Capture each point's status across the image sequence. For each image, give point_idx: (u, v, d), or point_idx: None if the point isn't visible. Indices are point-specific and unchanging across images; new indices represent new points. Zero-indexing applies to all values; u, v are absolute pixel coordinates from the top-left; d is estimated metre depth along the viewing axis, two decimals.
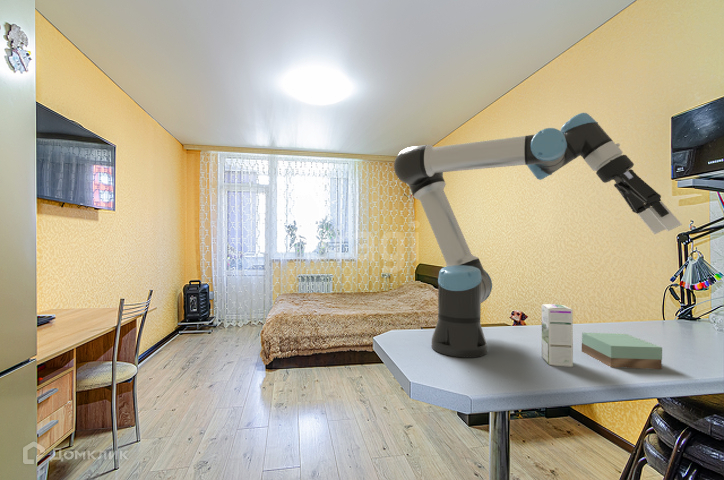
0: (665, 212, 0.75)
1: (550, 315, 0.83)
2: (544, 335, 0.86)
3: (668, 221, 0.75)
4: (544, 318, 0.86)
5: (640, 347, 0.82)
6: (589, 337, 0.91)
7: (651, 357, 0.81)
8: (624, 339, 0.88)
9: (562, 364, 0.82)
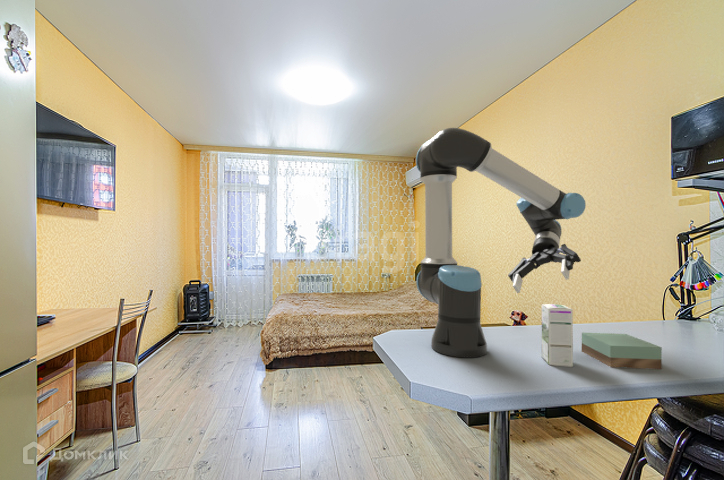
0: (571, 266, 0.90)
1: (550, 315, 0.83)
2: (544, 335, 0.86)
3: (566, 270, 0.89)
4: (544, 318, 0.86)
5: (639, 347, 0.82)
6: (588, 337, 0.91)
7: (650, 357, 0.81)
8: (623, 339, 0.88)
9: (562, 364, 0.82)
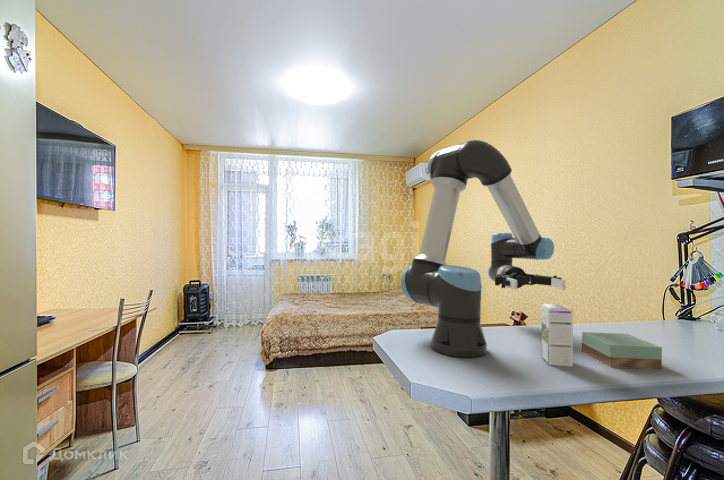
0: None
1: (550, 315, 0.83)
2: (544, 335, 0.86)
3: None
4: (544, 318, 0.86)
5: (639, 347, 0.82)
6: (588, 336, 0.91)
7: (650, 357, 0.81)
8: (624, 339, 0.88)
9: (562, 364, 0.82)
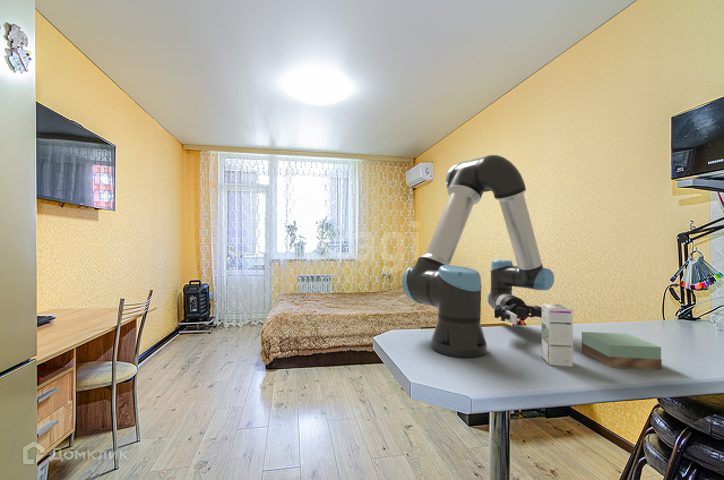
0: None
1: (550, 315, 0.83)
2: (544, 335, 0.86)
3: None
4: (544, 318, 0.86)
5: (639, 346, 0.82)
6: (588, 336, 0.91)
7: (650, 357, 0.81)
8: (623, 339, 0.88)
9: (562, 364, 0.82)
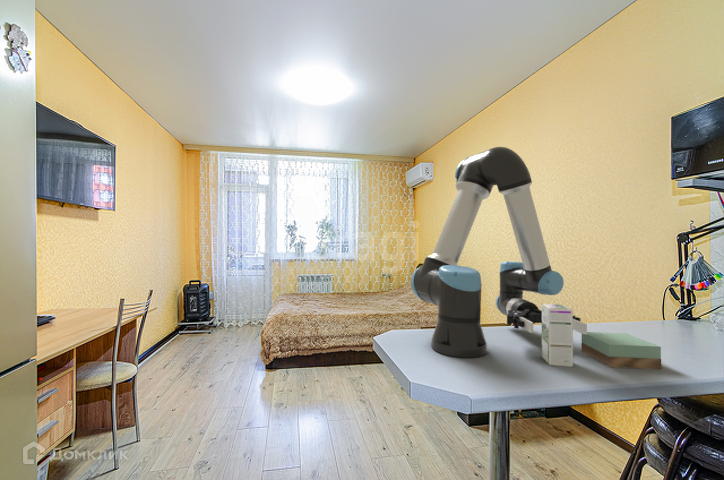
0: None
1: (550, 315, 0.83)
2: (544, 335, 0.86)
3: None
4: (544, 318, 0.86)
5: (638, 346, 0.82)
6: (588, 336, 0.91)
7: (650, 356, 0.82)
8: (623, 338, 0.88)
9: (562, 364, 0.82)
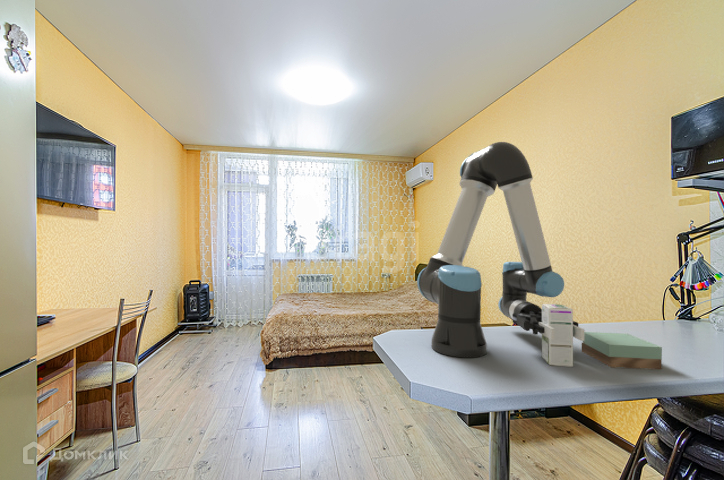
0: None
1: (550, 315, 0.83)
2: None
3: None
4: (544, 318, 0.86)
5: (639, 346, 0.82)
6: (589, 336, 0.91)
7: (650, 357, 0.81)
8: (624, 339, 0.88)
9: (562, 364, 0.82)
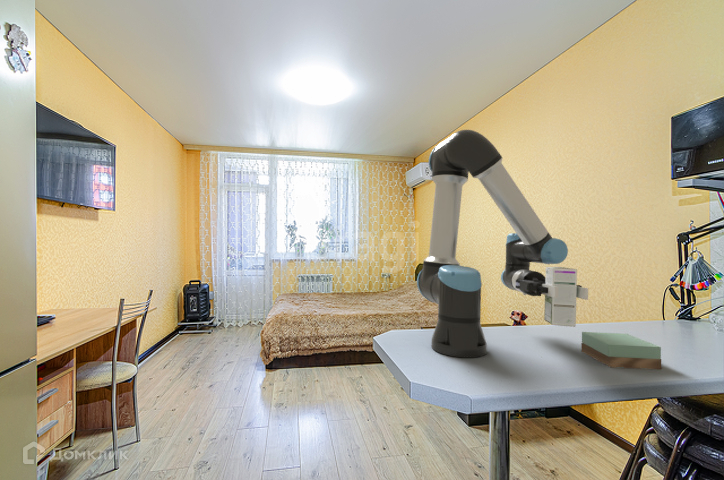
0: None
1: (554, 275, 0.83)
2: (547, 296, 0.86)
3: None
4: (548, 279, 0.86)
5: (638, 346, 0.82)
6: (588, 336, 0.91)
7: (649, 356, 0.82)
8: (623, 338, 0.88)
9: (565, 324, 0.82)
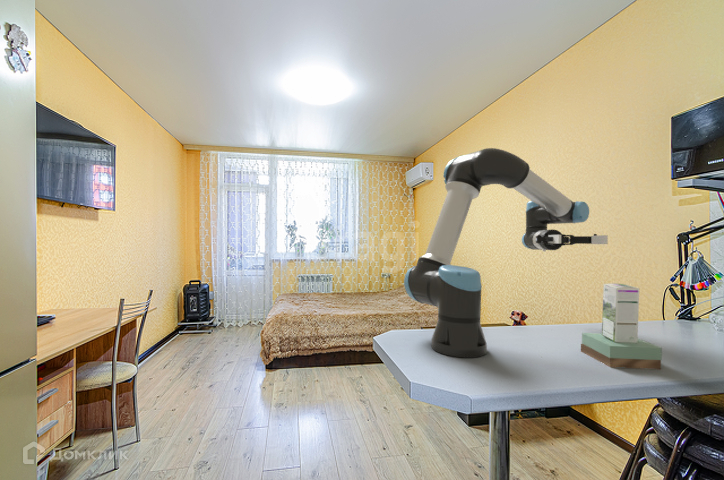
0: None
1: (617, 294, 0.84)
2: (608, 314, 0.88)
3: None
4: (608, 297, 0.87)
5: (639, 347, 0.82)
6: (588, 337, 0.91)
7: (650, 357, 0.81)
8: None
9: (627, 341, 0.85)
